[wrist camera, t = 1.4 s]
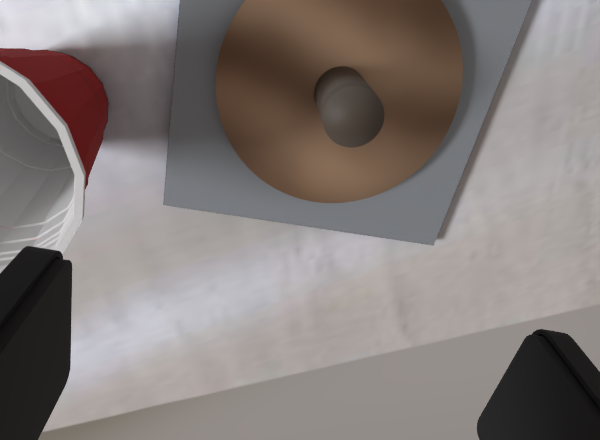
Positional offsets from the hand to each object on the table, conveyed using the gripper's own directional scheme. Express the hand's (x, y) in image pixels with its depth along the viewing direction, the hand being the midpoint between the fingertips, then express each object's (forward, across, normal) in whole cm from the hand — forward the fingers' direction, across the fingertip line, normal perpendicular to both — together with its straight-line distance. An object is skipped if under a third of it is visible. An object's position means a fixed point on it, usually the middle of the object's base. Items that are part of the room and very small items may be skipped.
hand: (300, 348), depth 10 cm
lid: (+22, -3, -1) cm, 23 cm away
